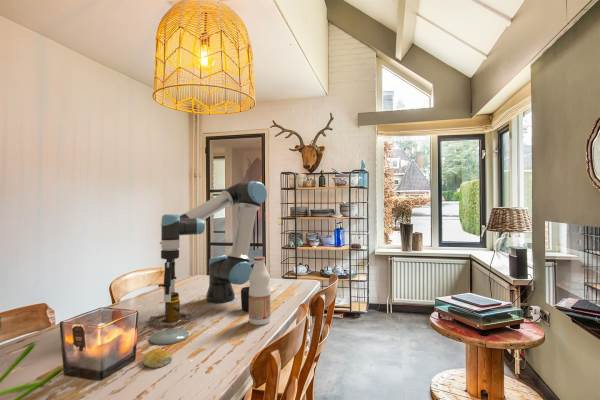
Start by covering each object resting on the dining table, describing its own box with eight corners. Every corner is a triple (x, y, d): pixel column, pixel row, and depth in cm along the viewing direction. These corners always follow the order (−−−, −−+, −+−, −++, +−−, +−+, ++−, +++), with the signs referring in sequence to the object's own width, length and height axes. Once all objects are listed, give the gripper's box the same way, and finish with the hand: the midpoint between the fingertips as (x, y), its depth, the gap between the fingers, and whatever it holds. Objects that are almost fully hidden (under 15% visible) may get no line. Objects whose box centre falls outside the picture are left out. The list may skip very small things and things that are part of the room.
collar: (191, 313, 163) (191, 309, 163) (189, 325, 146) (189, 321, 146) (152, 316, 159) (152, 312, 159) (145, 329, 142) (145, 325, 142)
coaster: (189, 329, 142) (189, 327, 142) (187, 342, 129) (187, 340, 129) (153, 332, 139) (153, 330, 139) (146, 346, 125) (146, 344, 125)
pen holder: (264, 308, 171) (264, 287, 171) (252, 313, 163) (252, 292, 163) (248, 305, 175) (248, 285, 175) (236, 310, 167) (236, 289, 167)
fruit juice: (252, 326, 145) (252, 259, 145) (246, 320, 153) (245, 256, 153) (273, 323, 149) (273, 258, 149) (266, 317, 157) (265, 255, 158)
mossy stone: (159, 354, 119) (159, 343, 119) (176, 361, 114) (176, 348, 114) (137, 364, 112) (137, 351, 112) (154, 371, 107) (154, 358, 107)
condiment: (182, 321, 152) (182, 294, 152) (161, 325, 147) (161, 297, 147) (178, 317, 158) (178, 290, 158) (158, 320, 153) (158, 293, 153)
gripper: (165, 246, 164) (164, 291, 164) (156, 253, 140) (155, 306, 139) (181, 246, 166) (181, 290, 165) (176, 252, 142) (175, 305, 141)
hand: (169, 297), depth 152 cm, fingers open, 13 cm apart
